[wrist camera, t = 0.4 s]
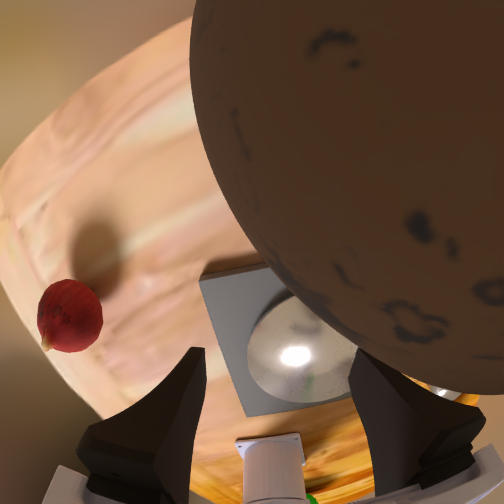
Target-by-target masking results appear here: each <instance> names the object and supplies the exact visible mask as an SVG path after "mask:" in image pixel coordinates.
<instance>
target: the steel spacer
mask: <svg viewBox="0 0 504 504" xmlns="http://www.w3.org/2000/svg"><path fill="white" fill-rule="evenodd" d="M426 385H427V386H428V388H429V389H430V391H431V392H432V393H434V394H437V395H439V396H441V397H443V398H446V399H449V400H451V401H453V400H454V399H456V398H457V397H458V396H459V395H461V394H462V393H459V392H454V391H450V390H446V389H443V388H439V387H435V386H432V385H429V384H426Z"/></svg>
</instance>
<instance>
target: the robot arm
mask: <svg viewBox="0 0 504 504" xmlns="http://www.w3.org/2000/svg"><path fill="white" fill-rule="evenodd" d="M206 382H207V375H206V362H205V348H201V347H191V348H189V350H188V351H187V352H186V354H185V355H184V356H183V358H182V359H181V360H180V362H179V363H178V364H177V365H176V366H175V368H174V369H173V370H172V371H171V372H170V373H169V374H168V375H167V377H166V378H165V379H164V380H163V381H162V382H161V383H160V384H159V385H157V386H156V387H155V388H154V389H153V390H152V391H151V392H150V393H148V394H147V395H146V396H145V397H143V398H142V399H141V400H139V401H138V402H136V403H135V404H133V405H132V406H130V407H129V408H127V409H125V410H124V411H122V412H120V413H118V414H116V415H114V416H112V417H110V418H108V419H106V420H103V421H100V422H98V423H95V424H93V425H90V426H89V427H88V428H87V429H86V431H85V432H84V434H83V436H82V438H81V440H80V442H79V444H78V447H77V449H76V454H77V456H78V457H79V459H80V460H81V461H82V463H83V464H84V465H85V466H86V468H87V469H88V470H89V471H90V472H91V474H90V477H89V478H87V477H86V476H84V475H82V474H80V473H78V472H75V471H73V470H71V469H68V468H66V467H64V466H61V465H59V466H58V468H57V470H56V473H55V475H54V477H53V479H52V481H51V484H50V486H49V488H48V490H47V493H46V495H45V497H44V500H43V502H42V504H188V502H189V485H190V473H191V463H192V454H193V446H194V439H195V434H196V430H197V426H198V422H199V418H200V414H201V410H202V406H203V402H204V398H205V391H206ZM348 382H349V387H350V391H351V395H352V398H353V401H354V403H355V406H356V409H357V411H358V414H359V416H360V419H361V421H362V424H363V427H364V429H365V433H366V436H367V440H368V444H369V449H370V454H371V460H372V466H373V474H374V483H375V497H374V498H370V499H366V500H362V501H357V502H353V503H348V504H474V503H476V502H477V501H479V500H480V499H482V498H483V497H484V496H485V495H487V494H488V493H490V492H491V491H492V490H493V489H494V488H496V487H497V486H498V485H499V484H500V483H502V482H503V481H504V463H503V462H502V460H501V458H500V457H499V455H498V453H497V451H496V450H495V448H494V446H493V445H492V444H489V445H487V446H485V447H483V448H482V449H480V450H478V451H477V452H475V453H474V454H473V455H472V453H471V452H470V451H471V450H472V449H473V446H472V444H471V442H472V441H473V440H474V438H475V437H476V436H477V435H478V433H479V432H480V431H481V430H482V428H483V427H484V425H485V423H486V418H485V416H484V415H483V413H482V412H481V411H480V409H479V408H478V407H474V406H470V405H465V404H461V403H458V402H455V401H451V400H449V399H446V398H443V397H441V396H439V395H437V394H434V393H432V392H430V391H428V390H427V389H425V388H423V387H421V386H420V385H418V384H416V383H415V382H413V381H412V380H410V379H409V378H407V377H406V376H404V375H403V374H402V373H400V372H399V371H397V370H395V369H393V368H392V367H390V366H388V365H387V364H385V363H383V362H381V361H380V360H378V359H376V358H375V357H373V356H372V355H370V354H369V353H367V352H366V351H364V350H363V349H361V348H357V351H356V354H355V358H354V361H353V364H352V367H351V370H350V373H349V376H348ZM235 446H236V448H237V450H238V452H239V453H240V455H241V457H242V459H243V460H244V468H243V504H310V499H307V498H306V491H305V484H304V477H303V470H302V466H303V465H305V458H304V453H303V448H302V442H301V437H300V434H299V433H292V434H286V435H280V436H273V437H266V438H258V439H249V440H238V441H235Z"/></svg>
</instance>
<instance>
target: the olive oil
mask: <svg viewBox="0 0 504 504" xmlns="http://www.w3.org/2000/svg"><path fill="white" fill-rule="evenodd" d="M189 60H190V79H191V89H192V96H193V103H194V108H195V114H196V118H197V123H198V127H199V131H200V135H201V138H202V142H203V145H204V148H205V151H206V154H207V157H208V160H209V162H210V165H211V168H212V170H213V173H214V175H215V178H216V180H217V182H218V184H219V187H220V189H221V191H222V193H223V195H224V197H225V199H226V201H227V203H228V205H229V207H230V209H231V211H232V212H233V214H234V216H235V218H236V219H237V221H238V223H239V224H240V226H241V228H242V229H243V231H244V232H245V234H246V236H247V237H248V239H249V240H250V242H251V243H252V244H253V246H254V247H255V249H256V250H257V251H258V253H259V254H260V255H261V257H262V258H263V259H264V261H265V262H266V263H267V265H268V266H269V267H270V268H271V270H272V271H273V272H274V273H275V274H276V276H277V277H278V278H279V279H280V280H281V281H282V282H283V284H284V285H285V286H286V287H287V288H288V289H289V290H290V291H291V292H292V293H293V294H294V295H295V296H296V297H297V298H298V299H299V300H300V301H301V302H302V303H303V304H304V305H306V306H307V307H308V308H309V309H310V310H311V311H312V312H313V313H314V314H316V315H317V316H318V317H319V318H320V319H321V320H323V321H324V322H325V323H327V324H328V325H329V326H330V327H332V328H333V329H334V330H336V331H337V332H338V333H340V334H341V335H342V336H344V337H345V338H347V339H348V340H350V341H351V342H352V343H354V344H355V345H357V346H358V347H360V348H361V349H363V350H364V351H366V352H367V353H369V354H370V355H372V356H373V357H375V358H376V359H378V360H380V361H381V362H383V363H385V364H387V365H388V366H390V367H392V368H393V369H395V370H397V371H399V372H401V373H403V374H405V375H408V376H410V377H412V378H414V379H417V380H419V381H421V382H423V383H426V384H429V385H432V386H435V387H439V388H443V389H446V390H450V391H454V392H459V393H467V394H479V395H501V394H504V0H196V4H195V9H194V14H193V19H192V27H191V37H190V58H189Z"/></svg>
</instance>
